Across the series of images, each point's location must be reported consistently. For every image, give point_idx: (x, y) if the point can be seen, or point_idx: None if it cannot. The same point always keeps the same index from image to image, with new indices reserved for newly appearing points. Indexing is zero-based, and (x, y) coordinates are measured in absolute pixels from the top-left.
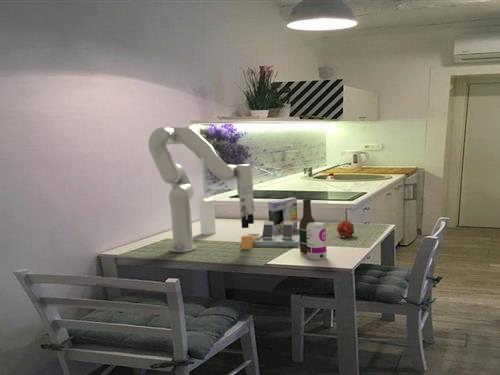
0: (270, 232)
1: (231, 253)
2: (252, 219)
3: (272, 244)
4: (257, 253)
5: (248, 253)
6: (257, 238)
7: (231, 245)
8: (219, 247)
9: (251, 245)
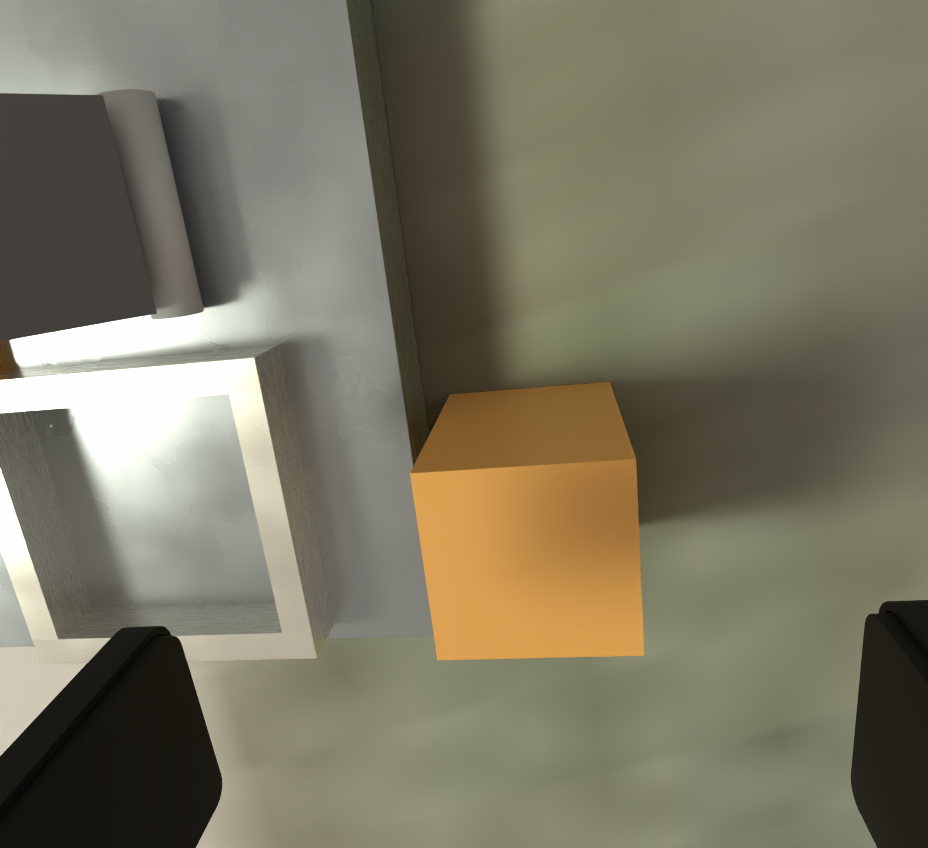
0: (15, 125)
1: (915, 594)
2: (93, 755)
3: (361, 16)
4: (915, 153)
5: (915, 325)
6: (274, 387)
7: (425, 727)
8: (564, 836)
9: (558, 400)
